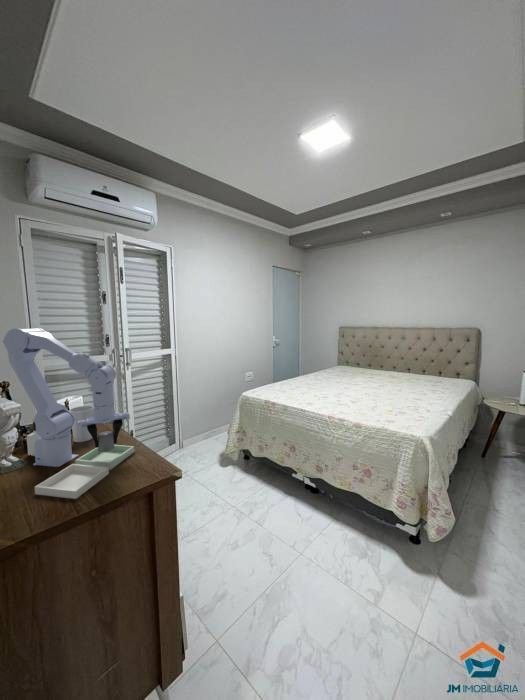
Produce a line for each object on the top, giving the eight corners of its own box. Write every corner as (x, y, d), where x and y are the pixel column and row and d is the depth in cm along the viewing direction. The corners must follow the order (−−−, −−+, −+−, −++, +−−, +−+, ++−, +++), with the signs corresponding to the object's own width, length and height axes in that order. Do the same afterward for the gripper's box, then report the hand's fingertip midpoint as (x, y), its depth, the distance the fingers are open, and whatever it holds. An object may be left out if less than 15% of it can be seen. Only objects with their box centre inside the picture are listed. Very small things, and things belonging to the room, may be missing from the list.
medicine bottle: (44, 457, 93) (42, 423, 91) (27, 455, 94) (24, 421, 93) (64, 448, 100) (61, 416, 98) (47, 446, 101) (45, 414, 100)
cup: (66, 440, 106) (64, 410, 105) (86, 433, 113) (84, 404, 112) (80, 444, 103) (78, 413, 102) (100, 436, 110) (98, 407, 109)
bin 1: (35, 496, 72) (34, 486, 72) (73, 471, 84) (72, 463, 84) (75, 501, 70) (75, 491, 70) (108, 475, 82) (108, 467, 82)
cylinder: (94, 450, 89) (94, 435, 88) (106, 444, 93) (105, 430, 93) (106, 452, 87) (105, 437, 87) (117, 446, 92) (116, 432, 91)
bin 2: (75, 468, 86) (75, 460, 86) (103, 450, 98) (103, 443, 98) (110, 471, 84) (110, 463, 84) (134, 453, 96) (134, 446, 96)
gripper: (77, 411, 82) (80, 455, 83) (130, 403, 90) (132, 443, 92) (76, 405, 87) (78, 446, 89) (126, 398, 96) (128, 436, 97)
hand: (105, 444), depth 91 cm, fingers closed on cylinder, 5 cm apart
